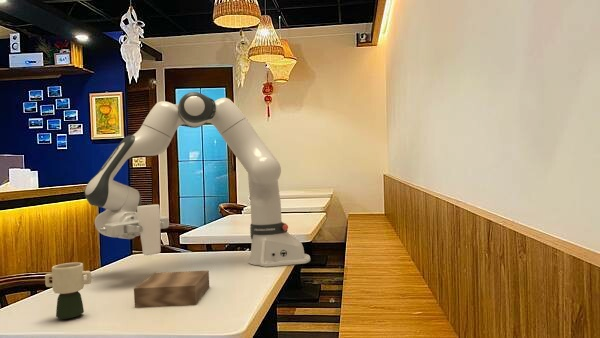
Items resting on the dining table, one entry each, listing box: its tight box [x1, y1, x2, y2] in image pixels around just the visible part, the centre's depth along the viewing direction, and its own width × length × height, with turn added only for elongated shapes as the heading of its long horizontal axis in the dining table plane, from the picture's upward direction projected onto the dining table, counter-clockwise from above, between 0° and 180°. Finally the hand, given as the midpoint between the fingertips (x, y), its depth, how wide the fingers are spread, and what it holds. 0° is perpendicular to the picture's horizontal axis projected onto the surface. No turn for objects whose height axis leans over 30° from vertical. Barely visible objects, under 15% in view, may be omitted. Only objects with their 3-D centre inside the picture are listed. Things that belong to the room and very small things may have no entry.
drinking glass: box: [137, 203, 162, 256], centre depth 151 cm, size 7×7×15 cm
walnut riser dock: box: [133, 269, 210, 308], centre depth 136 cm, size 16×18×5 cm
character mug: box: [44, 262, 92, 320], centre depth 122 cm, size 11×7×13 cm, turn 97°
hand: (151, 227), depth 151 cm, fingers closed on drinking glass, 6 cm apart
